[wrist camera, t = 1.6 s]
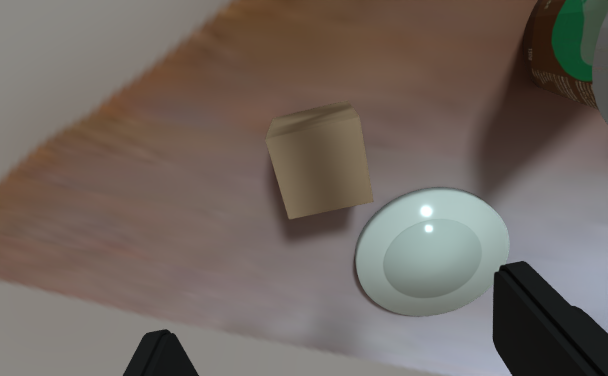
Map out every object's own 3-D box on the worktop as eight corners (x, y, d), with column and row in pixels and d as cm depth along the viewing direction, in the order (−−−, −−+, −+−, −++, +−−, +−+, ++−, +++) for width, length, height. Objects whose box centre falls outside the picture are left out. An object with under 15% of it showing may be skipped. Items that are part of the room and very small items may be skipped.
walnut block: (347, 100, 25) (359, 117, 20) (359, 169, 28) (373, 201, 22) (273, 118, 26) (265, 139, 20) (291, 184, 28) (288, 219, 23)
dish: (503, 171, 28) (512, 177, 26) (500, 294, 33) (507, 303, 32) (343, 205, 29) (344, 212, 28) (366, 317, 34) (368, 327, 33)
